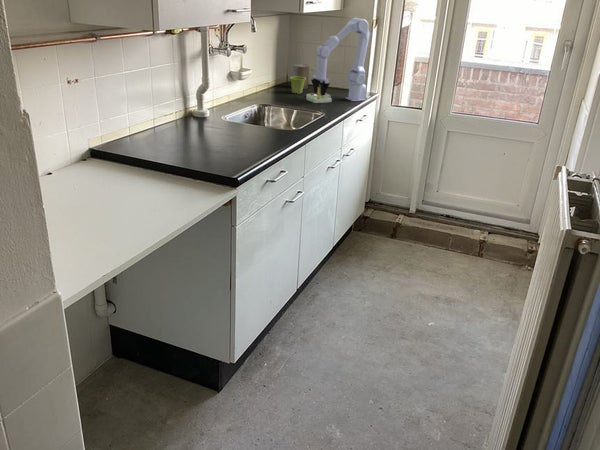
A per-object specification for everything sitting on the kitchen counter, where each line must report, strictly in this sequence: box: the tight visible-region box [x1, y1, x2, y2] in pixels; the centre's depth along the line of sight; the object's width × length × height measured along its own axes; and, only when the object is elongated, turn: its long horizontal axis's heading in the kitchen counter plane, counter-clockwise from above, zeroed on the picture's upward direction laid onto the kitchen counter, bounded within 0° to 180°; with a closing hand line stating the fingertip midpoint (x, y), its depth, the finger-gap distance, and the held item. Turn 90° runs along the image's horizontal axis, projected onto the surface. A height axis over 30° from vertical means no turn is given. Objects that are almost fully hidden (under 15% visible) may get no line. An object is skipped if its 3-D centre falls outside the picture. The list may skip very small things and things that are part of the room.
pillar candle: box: [292, 63, 310, 90], centre depth 327 cm, size 10×10×15 cm
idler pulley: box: [305, 93, 317, 96], centre depth 306 cm, size 7×7×2 cm
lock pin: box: [316, 85, 322, 99], centre depth 297 cm, size 3×3×7 cm
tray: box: [305, 95, 333, 104], centre depth 298 cm, size 11×9×2 cm
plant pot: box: [289, 76, 306, 95], centre depth 314 cm, size 9×9×9 cm
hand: (319, 93), depth 297 cm, fingers open, 7 cm apart
